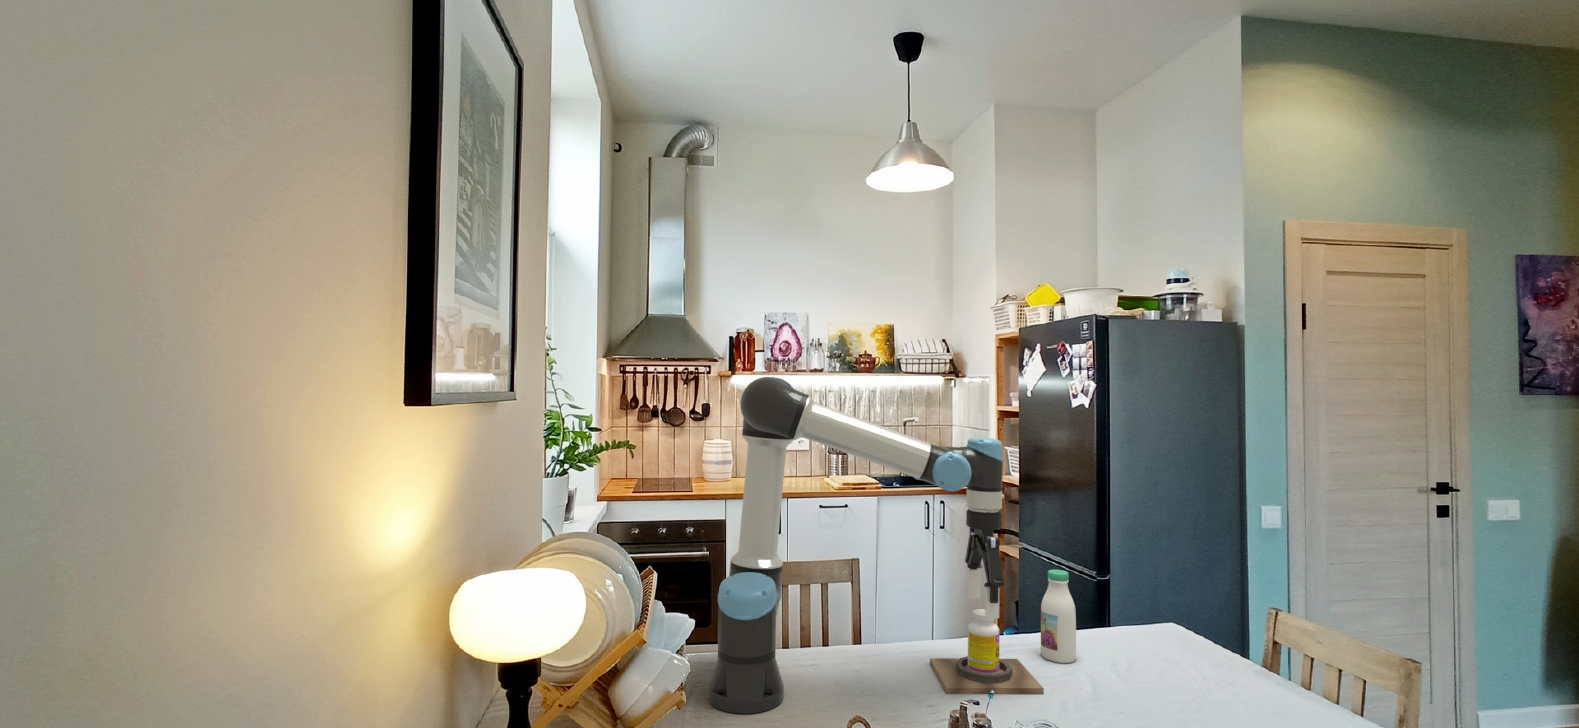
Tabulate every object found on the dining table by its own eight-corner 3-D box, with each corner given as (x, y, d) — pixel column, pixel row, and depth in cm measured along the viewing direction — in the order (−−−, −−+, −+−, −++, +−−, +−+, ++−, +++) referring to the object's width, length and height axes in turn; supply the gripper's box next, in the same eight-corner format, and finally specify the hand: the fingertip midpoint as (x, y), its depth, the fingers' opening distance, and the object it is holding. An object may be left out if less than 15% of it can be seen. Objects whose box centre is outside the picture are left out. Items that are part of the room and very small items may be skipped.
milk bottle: (1070, 652, 171) (1070, 567, 171) (1080, 664, 163) (1080, 576, 164) (1037, 651, 171) (1037, 566, 172) (1045, 663, 164) (1045, 575, 164)
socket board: (946, 693, 147) (946, 680, 147) (929, 663, 163) (929, 651, 163) (1043, 694, 147) (1043, 680, 147) (1017, 664, 163) (1017, 652, 163)
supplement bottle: (1000, 679, 151) (1000, 618, 151) (968, 676, 152) (968, 615, 153) (998, 667, 158) (998, 608, 158) (967, 664, 159) (967, 606, 159)
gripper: (1020, 520, 144) (1019, 627, 143) (984, 500, 169) (983, 591, 168) (983, 519, 144) (982, 626, 143) (952, 500, 168) (951, 591, 168)
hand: (982, 607), depth 155 cm, fingers open, 13 cm apart
